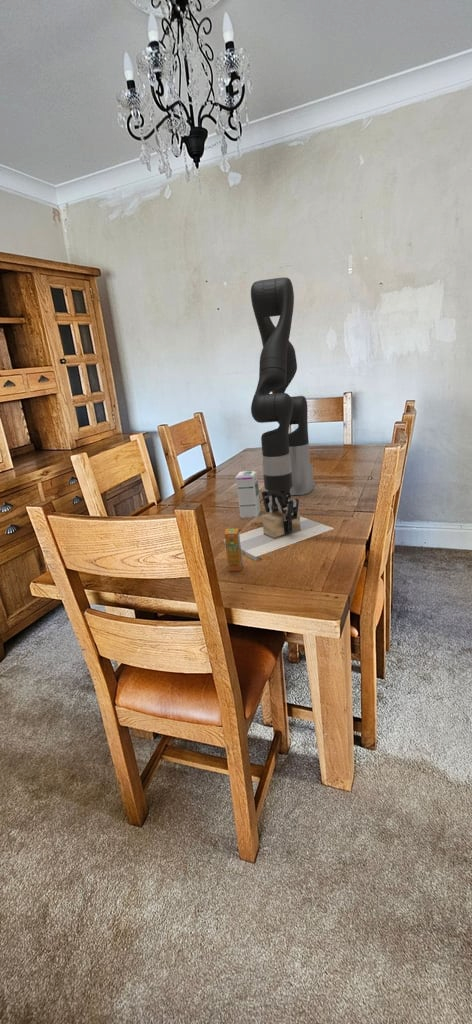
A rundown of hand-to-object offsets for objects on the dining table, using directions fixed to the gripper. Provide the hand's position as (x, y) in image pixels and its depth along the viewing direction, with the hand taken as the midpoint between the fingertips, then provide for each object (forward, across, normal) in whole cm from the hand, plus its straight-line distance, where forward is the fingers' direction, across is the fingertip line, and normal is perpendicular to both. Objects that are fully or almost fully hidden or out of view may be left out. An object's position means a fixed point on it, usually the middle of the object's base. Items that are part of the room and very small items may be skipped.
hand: (282, 530), depth 132 cm
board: (+2, 0, +2) cm, 2 cm away
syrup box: (+2, +20, -2) cm, 20 cm away
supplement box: (+2, -8, +20) cm, 22 cm away
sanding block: (+1, 0, 0) cm, 1 cm away
